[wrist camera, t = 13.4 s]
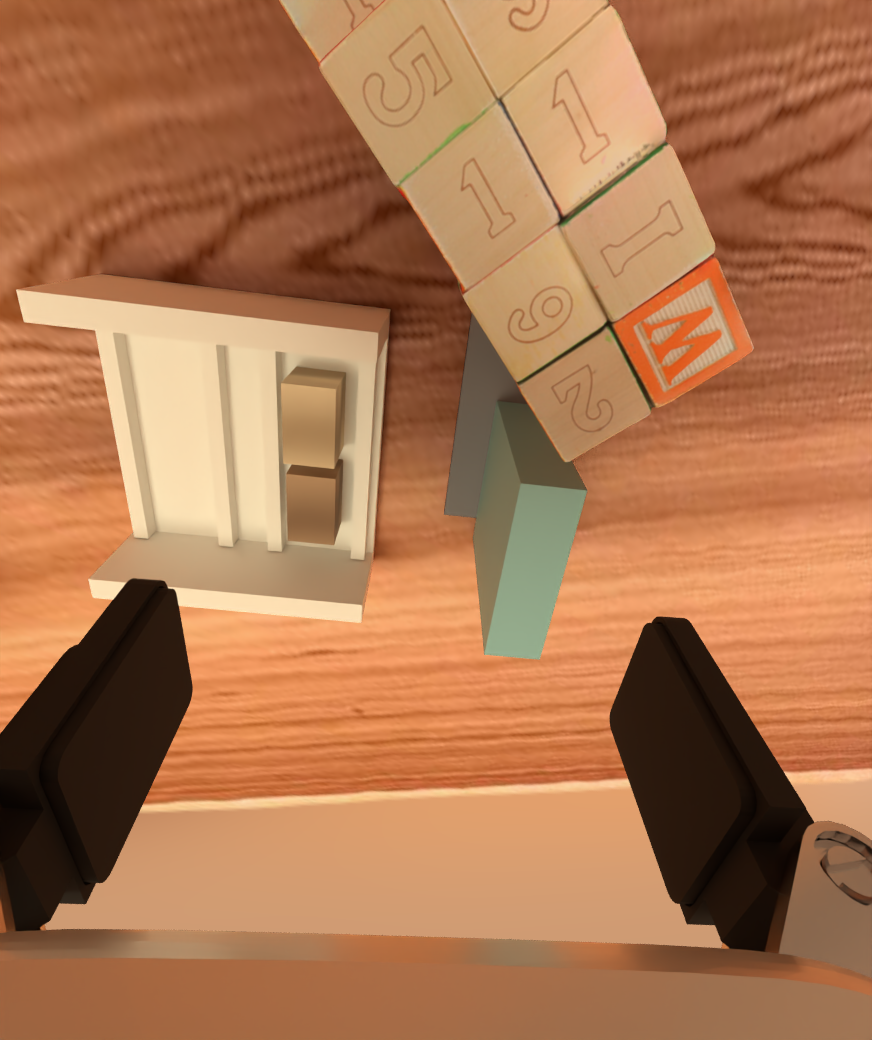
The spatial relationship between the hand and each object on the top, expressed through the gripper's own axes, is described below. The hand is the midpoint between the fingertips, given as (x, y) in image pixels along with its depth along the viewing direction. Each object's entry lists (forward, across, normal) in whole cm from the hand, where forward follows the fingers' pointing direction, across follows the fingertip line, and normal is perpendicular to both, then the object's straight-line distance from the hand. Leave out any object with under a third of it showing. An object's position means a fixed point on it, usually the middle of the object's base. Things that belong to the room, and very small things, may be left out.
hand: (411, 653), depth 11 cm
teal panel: (+15, -5, +1) cm, 16 cm away
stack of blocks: (+20, 0, -11) cm, 23 cm away
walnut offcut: (+19, +5, +7) cm, 21 cm away
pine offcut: (+19, +5, +2) cm, 20 cm away
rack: (+20, +9, +4) cm, 23 cm away
